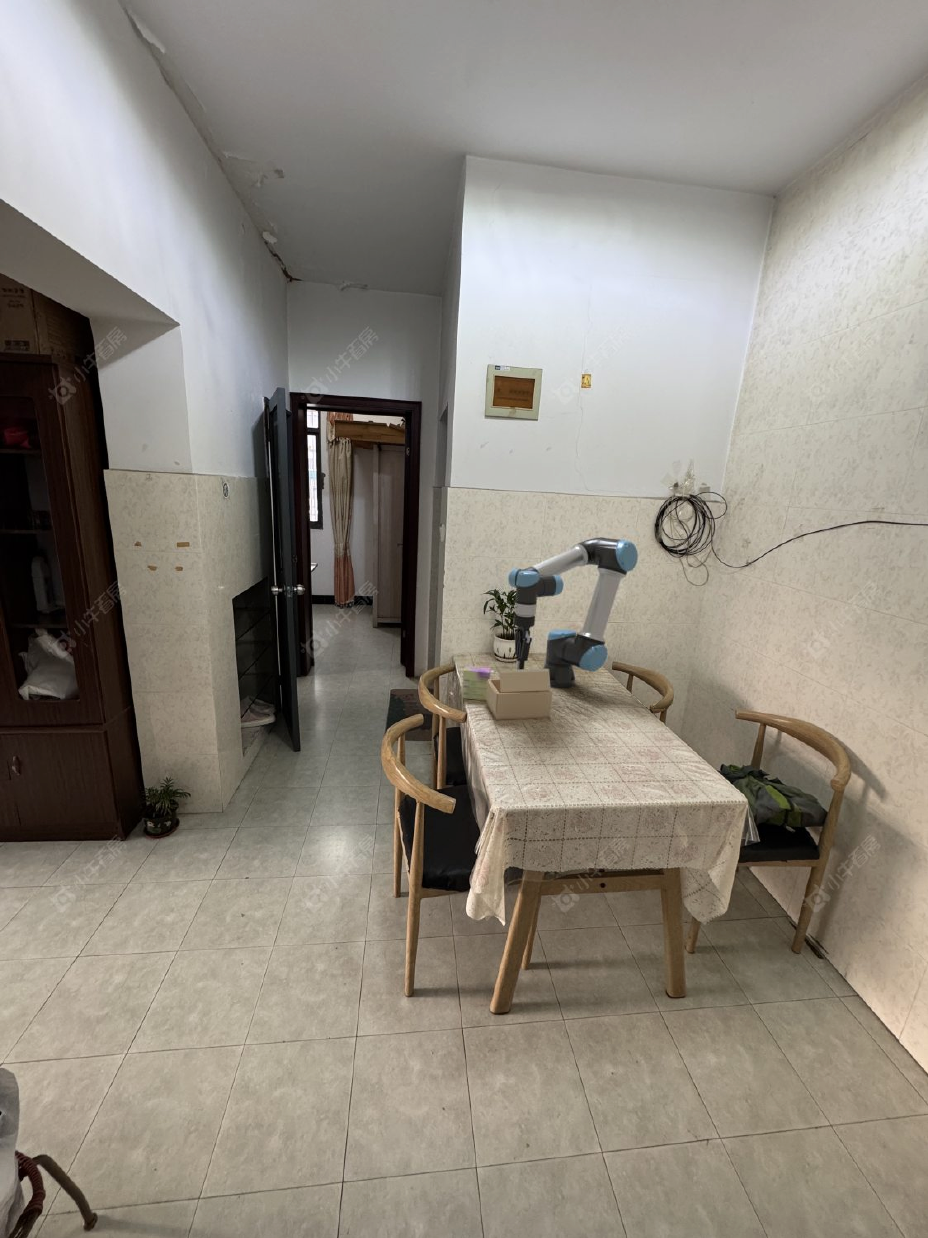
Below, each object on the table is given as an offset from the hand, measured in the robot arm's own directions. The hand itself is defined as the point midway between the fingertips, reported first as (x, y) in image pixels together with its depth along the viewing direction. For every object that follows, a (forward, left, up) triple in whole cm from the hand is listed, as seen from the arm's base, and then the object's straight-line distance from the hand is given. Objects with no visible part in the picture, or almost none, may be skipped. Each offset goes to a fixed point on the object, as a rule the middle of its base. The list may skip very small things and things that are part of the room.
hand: (519, 676), depth 185 cm
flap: (0, +6, +1) cm, 6 cm away
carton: (0, 0, -14) cm, 14 cm away
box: (+13, -14, -14) cm, 23 cm away
